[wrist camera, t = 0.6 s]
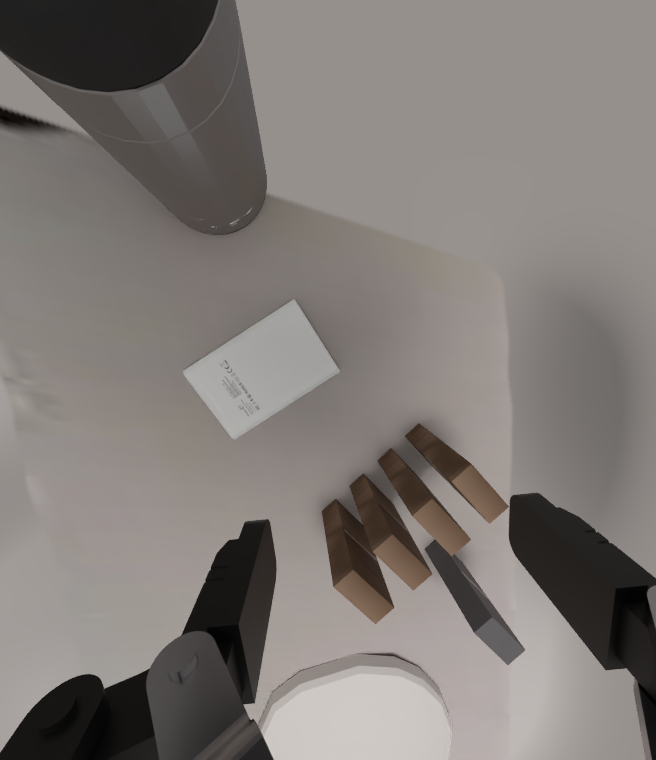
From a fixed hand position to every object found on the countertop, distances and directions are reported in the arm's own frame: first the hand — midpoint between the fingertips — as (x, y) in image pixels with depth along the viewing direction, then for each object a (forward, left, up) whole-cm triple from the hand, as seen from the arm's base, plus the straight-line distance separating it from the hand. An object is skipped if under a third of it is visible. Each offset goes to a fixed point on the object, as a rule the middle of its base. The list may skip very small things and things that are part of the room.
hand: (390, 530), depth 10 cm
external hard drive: (-5, -5, -22) cm, 23 cm away
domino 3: (+11, +4, -22) cm, 25 cm away
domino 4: (+10, +8, -22) cm, 25 cm away
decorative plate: (+42, -14, -22) cm, 50 cm away
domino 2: (+12, 0, -22) cm, 25 cm away
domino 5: (+23, +5, -22) cm, 32 cm away
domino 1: (+14, -3, -22) cm, 26 cm away
